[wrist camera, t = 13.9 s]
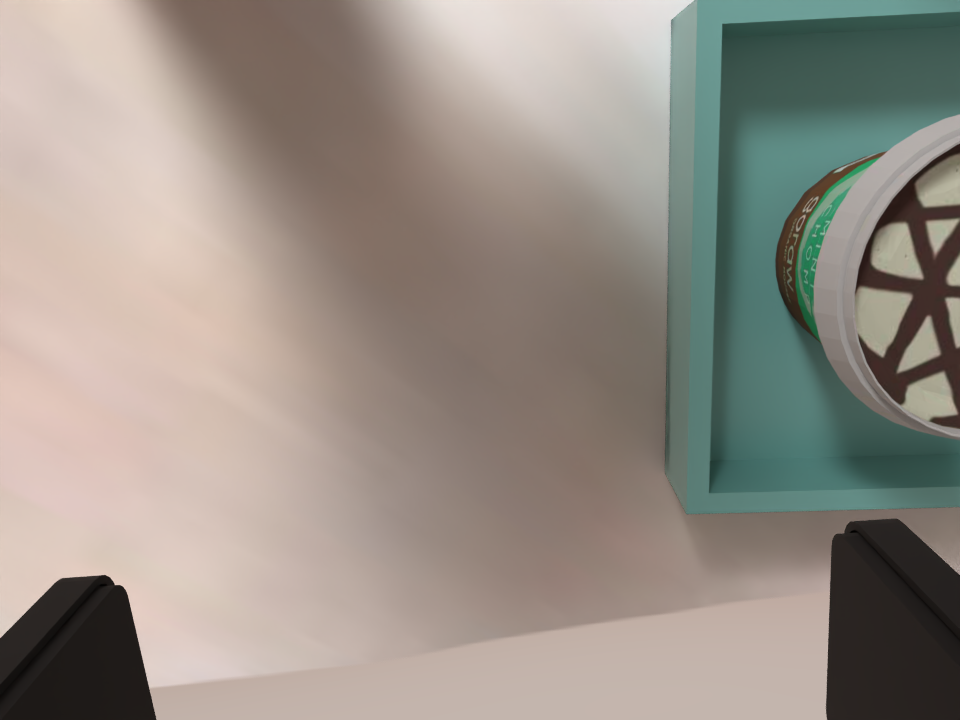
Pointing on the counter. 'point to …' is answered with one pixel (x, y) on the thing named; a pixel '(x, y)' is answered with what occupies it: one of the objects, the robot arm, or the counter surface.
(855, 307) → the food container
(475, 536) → the counter surface
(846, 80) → the tray
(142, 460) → the counter surface
